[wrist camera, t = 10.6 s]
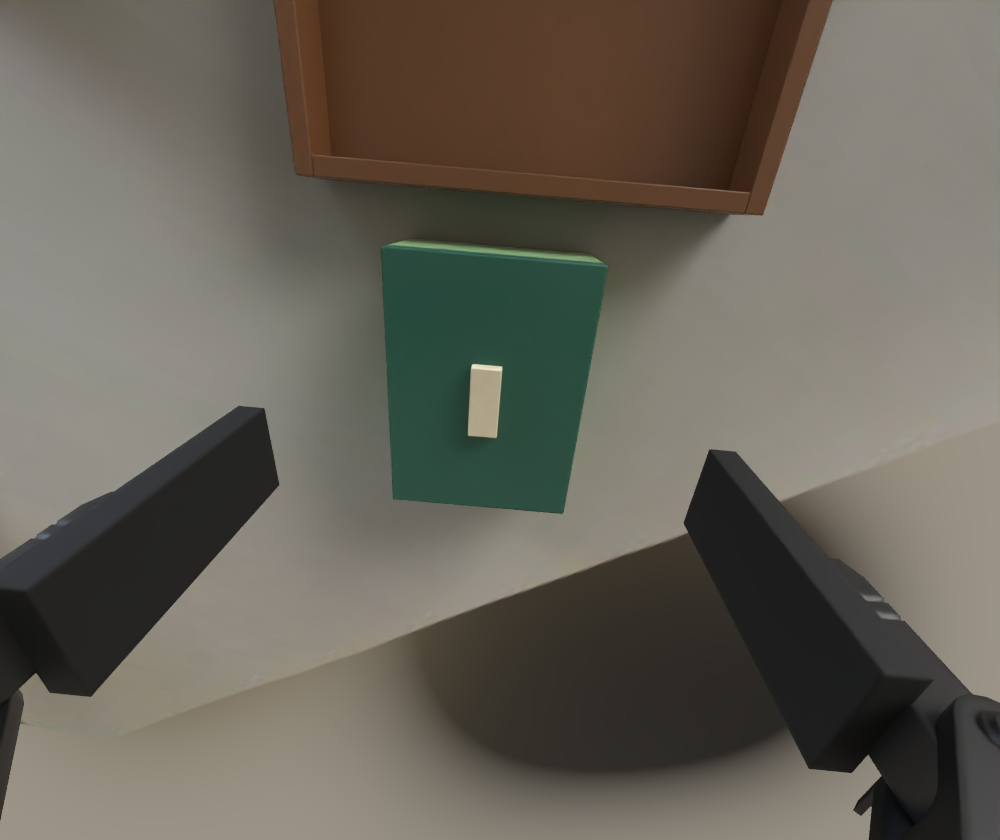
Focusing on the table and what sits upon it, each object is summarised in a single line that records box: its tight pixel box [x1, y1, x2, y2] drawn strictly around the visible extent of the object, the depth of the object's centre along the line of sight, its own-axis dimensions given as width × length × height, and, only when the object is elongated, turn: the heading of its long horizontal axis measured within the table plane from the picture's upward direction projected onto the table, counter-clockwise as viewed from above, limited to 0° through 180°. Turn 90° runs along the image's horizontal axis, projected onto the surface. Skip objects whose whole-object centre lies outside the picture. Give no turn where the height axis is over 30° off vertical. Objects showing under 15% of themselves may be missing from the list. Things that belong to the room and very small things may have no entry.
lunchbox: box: [381, 238, 608, 514], centre depth 19 cm, size 5×11×8 cm
